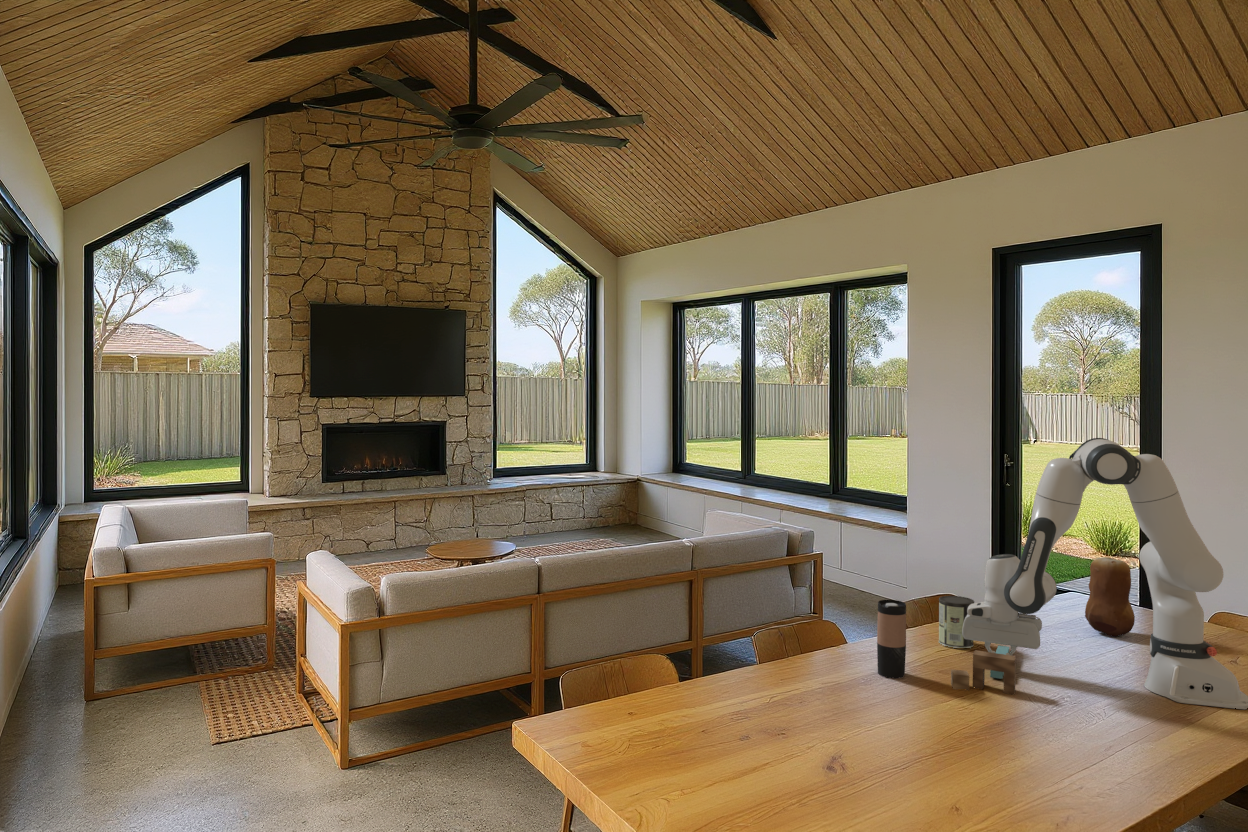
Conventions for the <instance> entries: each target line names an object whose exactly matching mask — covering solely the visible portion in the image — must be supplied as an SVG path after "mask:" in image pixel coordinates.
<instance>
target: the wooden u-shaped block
mask: <svg viewBox="0 0 1248 832" xmlns="http://www.w3.org/2000/svg"><path fill="white" fill-rule="evenodd" d="M1016 659H1017V655H1012V656H1011V655H1004V654H998V653H996V652H995V653H991V652H988V651H982V650H977V649H975V650H974V651H973V654H972V688H973V687H975V688H974V689H977V688H979V689H978V690H984V687H985V675H986V674H985V670H986V671H987V670H988V671H990V670H993V671H999V672H1004V675H1003V694H1007V693H1009V694H1008V695H1012V694H1014V695H1015V693H1016V674H1017V673H1016V672H1017V671H1016V667H1017V666H1016V663H1017V660H1016Z"/></svg>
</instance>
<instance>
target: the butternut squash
mask: <svg viewBox="0 0 1248 832" xmlns="http://www.w3.org/2000/svg"><path fill="white" fill-rule="evenodd" d="M1089 569H1090V570H1089V571H1090V572H1089V573H1090V577H1089V583H1088V589H1089V597H1088V600H1087V602H1086V604H1085V609H1084V614H1085V615H1084V617H1085V619H1086V620H1087V622H1088V624H1089V625H1090V627H1091V628H1092V629H1093V630H1095V631H1097V632H1100V633H1103V634H1105V635H1106V636H1107V637H1114V638H1117V637H1119V636H1125V635H1126V634H1128V633H1130V632H1131V631H1132V630H1133V627H1134V626H1135V618H1136V617H1135V613H1134V610H1133V606H1132V605H1131V601H1130V593H1131V589H1132V575H1131V574H1132V572H1131V568H1130V565H1129V564H1128V563H1127V562H1125V561H1123V560H1119V559H1117V558H1112V557H1109V556H1108V557H1106V556H1103V557H1096V558H1095V559H1094V560H1093V561H1092V562H1091V564H1090V566H1089Z"/></svg>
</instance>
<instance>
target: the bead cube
mask: <svg viewBox="0 0 1248 832" xmlns="http://www.w3.org/2000/svg"><path fill="white" fill-rule="evenodd" d="M969 674H970V673H969V671H968V670H963V669H950V685H951V687H953V688H952V690H958V689H966V690H965V691H970V675H969Z"/></svg>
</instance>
